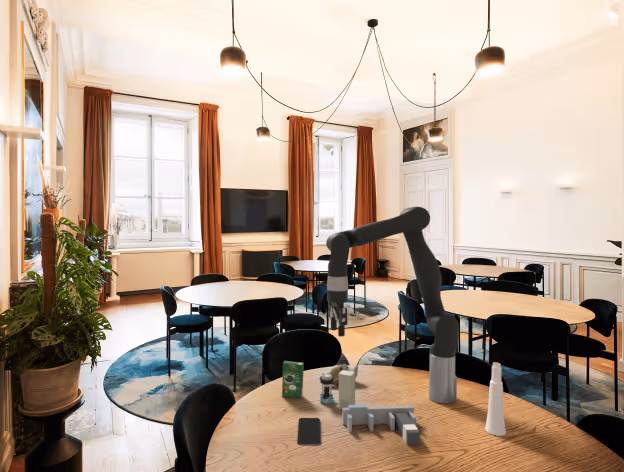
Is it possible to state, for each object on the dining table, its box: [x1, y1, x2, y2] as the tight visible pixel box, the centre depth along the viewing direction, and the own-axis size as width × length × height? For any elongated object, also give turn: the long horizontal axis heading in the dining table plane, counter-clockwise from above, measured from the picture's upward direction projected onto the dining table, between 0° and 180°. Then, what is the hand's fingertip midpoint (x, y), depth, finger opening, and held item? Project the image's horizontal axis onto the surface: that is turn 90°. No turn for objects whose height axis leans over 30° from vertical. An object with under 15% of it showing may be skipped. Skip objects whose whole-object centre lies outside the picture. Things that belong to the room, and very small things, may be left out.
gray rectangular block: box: [395, 413, 421, 447], centre depth 117 cm, size 12×4×4 cm, turn 6°
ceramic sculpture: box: [321, 362, 359, 386], centre depth 158 cm, size 11×9×15 cm
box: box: [338, 370, 356, 410], centre depth 135 cm, size 5×4×13 cm
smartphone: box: [296, 417, 322, 446], centre depth 118 cm, size 7×1×15 cm
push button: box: [319, 373, 338, 404], centre depth 139 cm, size 7×5×10 cm
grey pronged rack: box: [341, 404, 417, 433], centre depth 122 cm, size 24×6×6 cm, turn 96°
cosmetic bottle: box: [484, 361, 507, 437], centre depth 120 cm, size 6×6×22 cm
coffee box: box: [281, 360, 305, 399], centre depth 144 cm, size 8×3×13 cm, turn 79°
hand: (337, 333), depth 135 cm, fingers open, 8 cm apart
